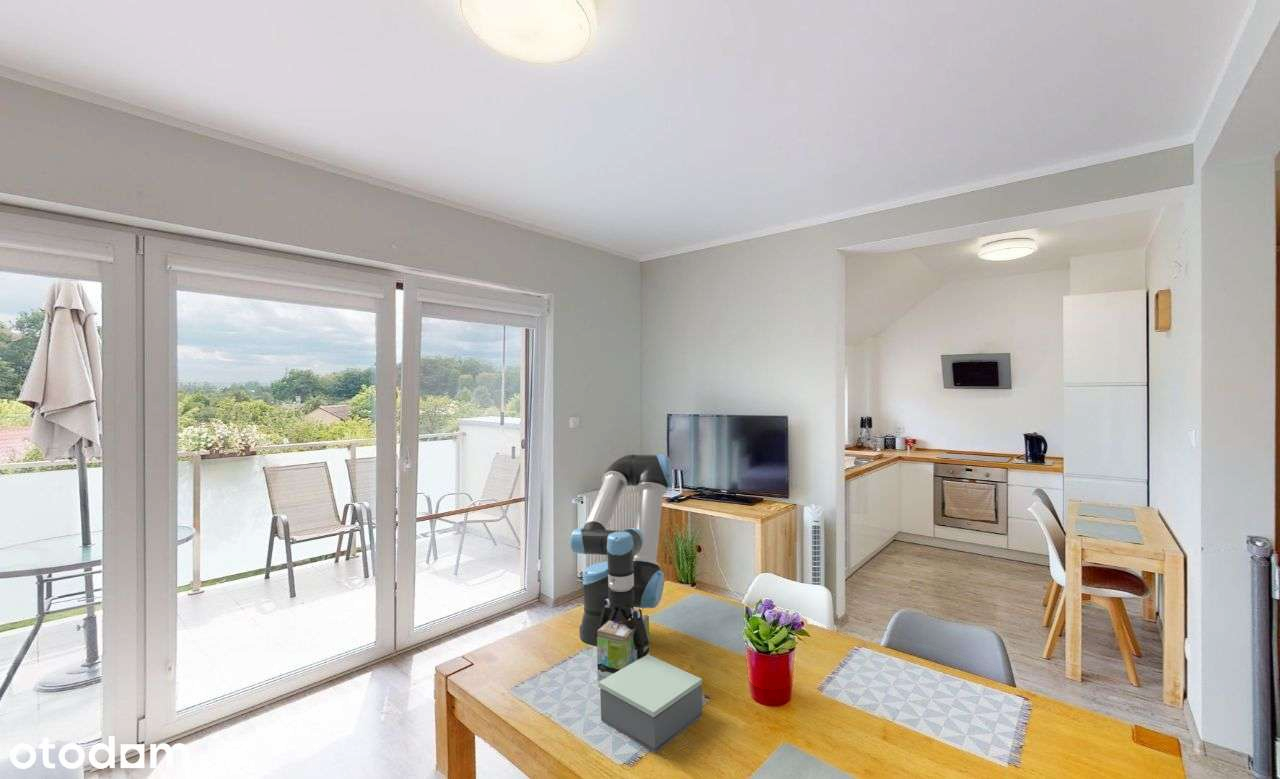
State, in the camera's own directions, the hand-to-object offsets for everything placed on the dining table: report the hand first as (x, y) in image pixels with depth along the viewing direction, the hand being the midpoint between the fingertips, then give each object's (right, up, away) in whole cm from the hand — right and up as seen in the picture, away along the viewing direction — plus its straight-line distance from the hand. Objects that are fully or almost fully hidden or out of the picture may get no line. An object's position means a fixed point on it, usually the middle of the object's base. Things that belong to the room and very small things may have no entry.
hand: (623, 661), depth 153 cm
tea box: (0, -3, 0) cm, 3 cm away
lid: (+8, +5, -21) cm, 23 cm away
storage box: (+8, -3, -21) cm, 22 cm away
